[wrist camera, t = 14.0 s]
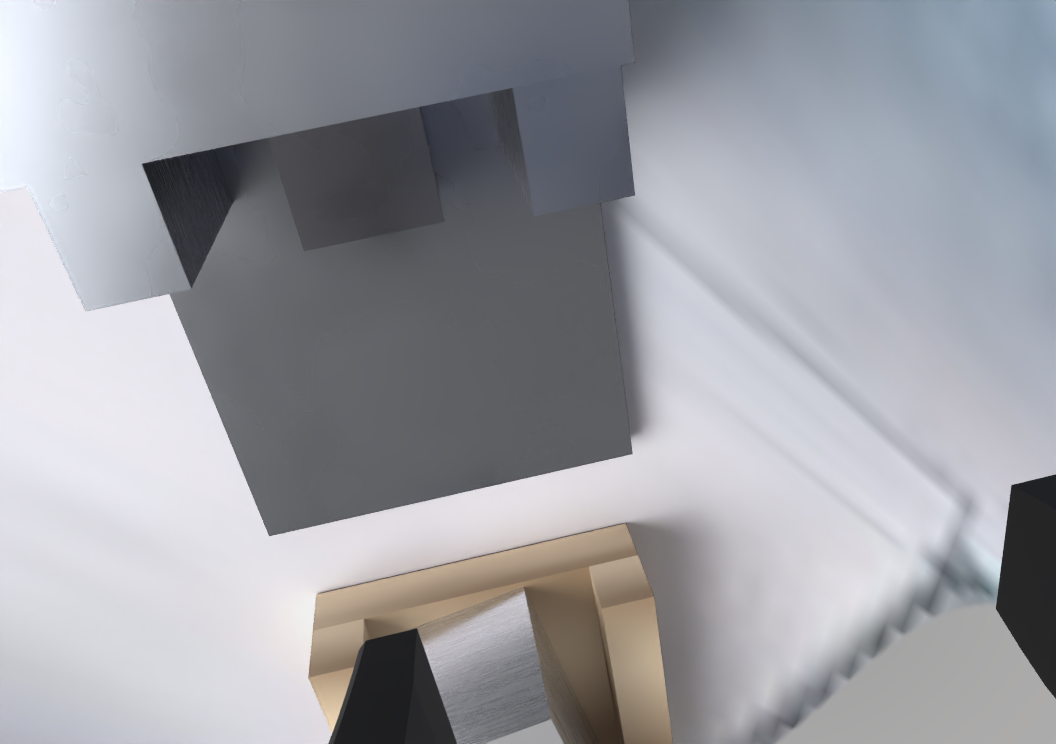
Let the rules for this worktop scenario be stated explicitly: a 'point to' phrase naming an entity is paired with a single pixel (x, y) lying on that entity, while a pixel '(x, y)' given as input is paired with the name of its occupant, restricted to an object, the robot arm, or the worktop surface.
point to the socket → (353, 267)
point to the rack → (562, 606)
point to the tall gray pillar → (503, 676)
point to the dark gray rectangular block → (358, 178)
